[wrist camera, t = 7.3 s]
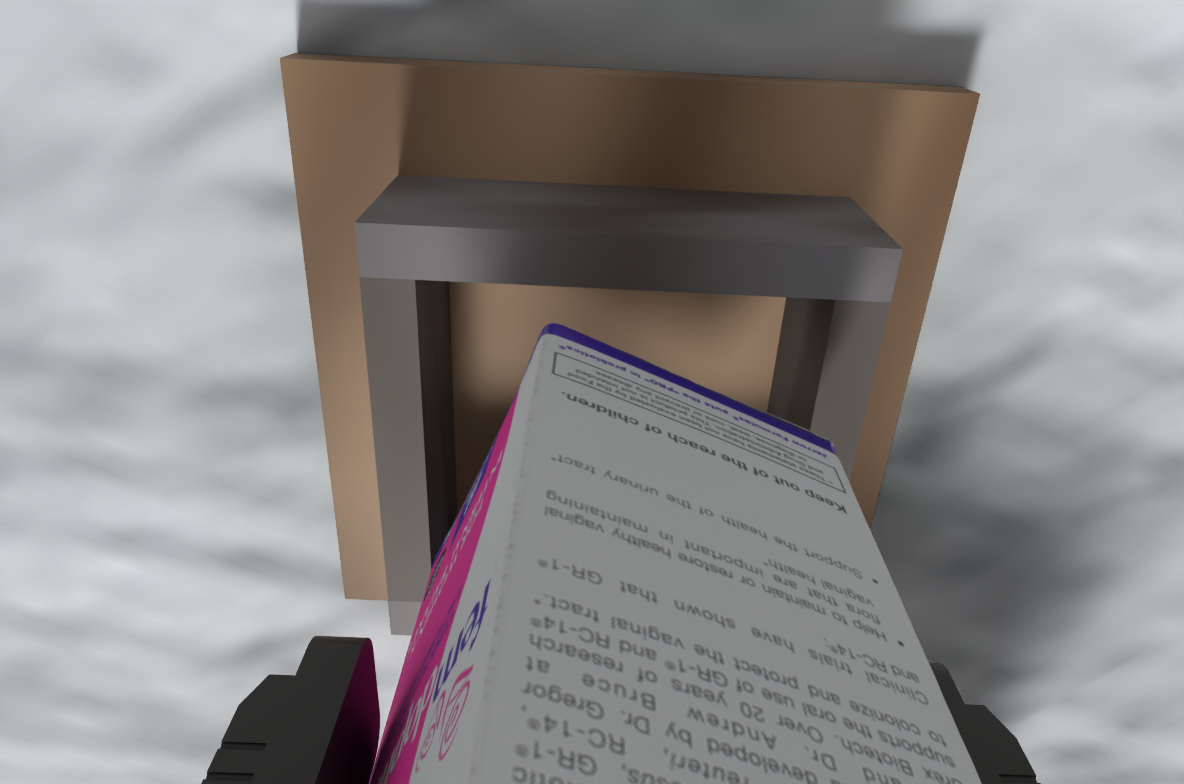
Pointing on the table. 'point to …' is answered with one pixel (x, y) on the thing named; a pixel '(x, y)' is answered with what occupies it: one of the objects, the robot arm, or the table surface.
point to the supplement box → (661, 603)
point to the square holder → (599, 260)
